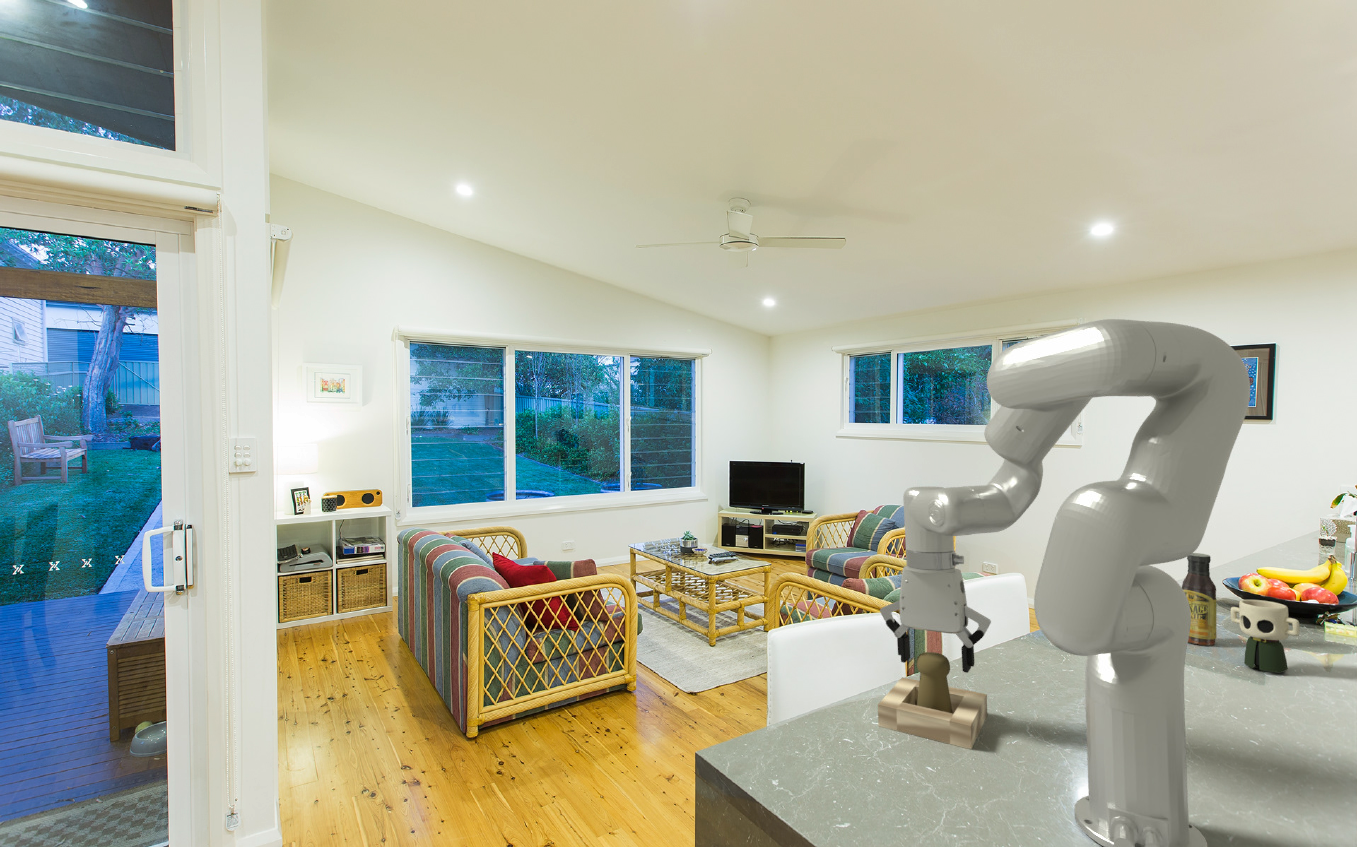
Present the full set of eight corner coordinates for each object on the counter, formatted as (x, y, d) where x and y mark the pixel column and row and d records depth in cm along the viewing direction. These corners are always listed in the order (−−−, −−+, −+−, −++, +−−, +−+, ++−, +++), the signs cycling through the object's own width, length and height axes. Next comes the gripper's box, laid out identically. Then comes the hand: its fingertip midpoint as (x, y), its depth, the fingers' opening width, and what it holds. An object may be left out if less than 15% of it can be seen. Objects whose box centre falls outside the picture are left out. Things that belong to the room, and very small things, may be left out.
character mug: (1222, 663, 127) (1219, 599, 128) (1242, 658, 130) (1240, 595, 130) (1291, 682, 117) (1288, 612, 118) (1311, 676, 120) (1308, 608, 120)
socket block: (971, 749, 94) (970, 725, 94) (878, 725, 102) (877, 704, 102) (987, 715, 105) (986, 694, 105) (902, 696, 113) (902, 677, 114)
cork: (959, 730, 100) (956, 661, 100) (919, 728, 101) (917, 659, 101) (949, 713, 106) (947, 648, 106) (912, 712, 107) (910, 647, 107)
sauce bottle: (1174, 640, 142) (1171, 552, 142) (1190, 636, 144) (1186, 550, 145) (1209, 648, 136) (1205, 557, 136) (1224, 644, 138) (1220, 554, 139)
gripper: (991, 561, 102) (997, 667, 101) (885, 554, 112) (889, 651, 111) (982, 568, 96) (989, 681, 95) (871, 560, 106) (876, 662, 105)
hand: (935, 664), depth 103 cm, fingers open, 9 cm apart
